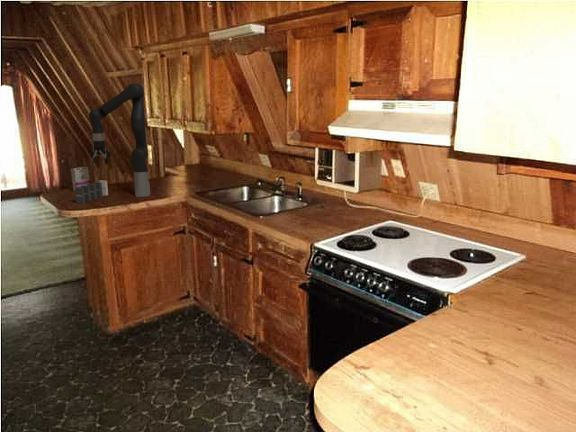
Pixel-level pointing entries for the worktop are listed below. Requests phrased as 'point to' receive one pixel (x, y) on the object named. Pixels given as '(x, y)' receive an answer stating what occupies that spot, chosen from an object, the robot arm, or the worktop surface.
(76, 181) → the candy bar box
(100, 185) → the domino
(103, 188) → the ivory domino
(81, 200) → the domino
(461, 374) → the worktop surface
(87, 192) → the domino
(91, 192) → the domino
